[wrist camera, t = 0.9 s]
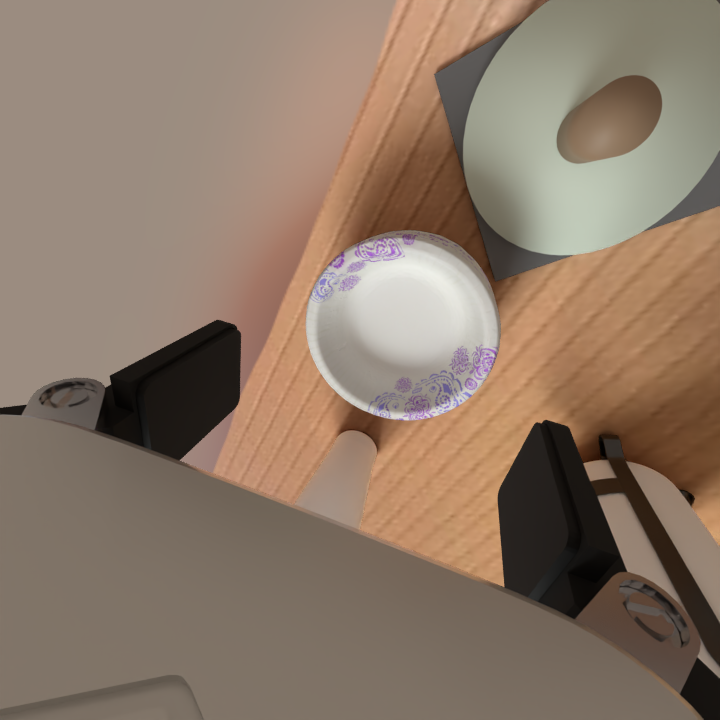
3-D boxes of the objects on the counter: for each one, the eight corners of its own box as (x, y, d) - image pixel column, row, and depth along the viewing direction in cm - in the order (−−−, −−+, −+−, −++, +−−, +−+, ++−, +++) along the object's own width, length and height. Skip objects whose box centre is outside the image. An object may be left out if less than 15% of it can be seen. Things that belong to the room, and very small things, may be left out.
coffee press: (714, 428, 31) (1963, 1631, 5) (666, 551, 38) (1112, 1352, 12) (504, 415, 36) (608, 1010, 10) (494, 526, 43) (541, 1059, 17)
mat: (712, -90, 20) (717, -96, 19) (732, 199, 24) (736, 199, 24) (434, 75, 26) (434, 74, 25) (495, 280, 31) (495, 281, 30)
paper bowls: (394, 186, 30) (373, 186, 23) (532, 298, 31) (551, 331, 24) (307, 318, 37) (271, 348, 30) (420, 405, 38) (410, 453, 31)
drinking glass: (380, 474, 44) (344, 595, 31) (328, 459, 45) (273, 570, 32) (387, 430, 41) (351, 545, 28) (332, 417, 42) (272, 520, 29)
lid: (717, -95, 19) (838, -231, 13) (736, 199, 24) (831, 204, 18) (434, 74, 26) (424, 37, 19) (495, 281, 30) (503, 305, 24)
